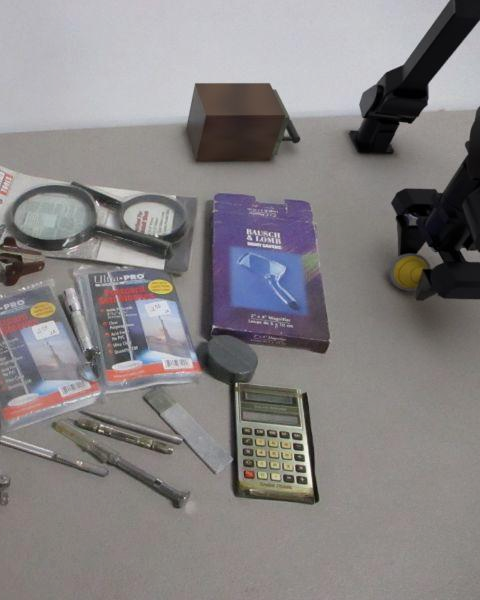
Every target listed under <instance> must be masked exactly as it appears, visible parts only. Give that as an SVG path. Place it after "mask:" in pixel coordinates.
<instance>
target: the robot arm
mask: <svg viewBox="0 0 480 600" xmlns="http://www.w3.org/2000/svg"><path fill="white" fill-rule="evenodd" d="M479 23H480V0H449V1H448V2H447V3H446V5H445V6H444V7H443V9H442V10H441V11H440V13H439V15H438V16H437V17H436V18H435V20H434V21H433V23H432V24H431V26H430V27H429V28H428V30H427V32H425V34H424V35H423V37H422V38H421V40H420V41H419V43H418V44H417V45H416V47H415V48H414V49H413V51H412V52H411V53H410V55H409V56H408V57H407V59H406V60H405V62H404V63H403V64H402V65H399V66H397V67H395V68H392V69H390V70H388V71H386V72H385V73H384V74H383V75H382V76H381V77H380V79H378V81H377V82H376V83H375V84H373V85H372V86H370V87H369V88H368V89H366V90H364V91H363V92H362V94H361V96H360V97H361V98H360V99H359V104H358V105H359V106H358V107H359V110H360V114H361V118H362V121H361V124H360V126H359V127H358V130H354V129H353V130H352V129H351V130H349V132H348V135H349V137H350V138H351V141H352V143H353V145H354V147H355V149H356V151H357V152H358V153H359V154H372V155H373V154H374V155H376V154H377V155H393V154H395V150H394V147H393V146H392V144H391V143H392V142H393V140H394V137H395V135H396V132H397V131H398V128H399V127H400V123H403V124H404V123H405V124H409V125H412V124H413V123H414V122H415V120H417V118H419V117H420V115H421V113H422V112H423V111H424V109H425V108H427V106H428V104H429V99H430V95H429V93H430V91H429V90H430V88H429V87H430V85H429V84H430V83H431V81H433V79H434V78H435V76H436V75H437V74H438V73H439V72H440V71H441V69H442V68H443V67H444V65H445V64H446V63H447V62H448V61H449V59H450V58H451V57H452V56H453V54H455V52H456V51H457V50H458V49H459V47H460V46H461V45H462V44H463V42H464V41H465V40H466V39H467V37H468V36H469V35H470V33H472V31H473V30H474V29H475V28H476V26H477V25H478V24H479ZM469 131H470V132H469V139H468V140H466V141H465V142H464V147H465V149H466V152H467V155H466V156H465V157H464V159H463V160H462V162H461V163H460V165H459V167H458V168H457V169H456V171H455V173H454V174H453V176H452V177H451V179H450V180H449V182H448V183H447V186H446V187H445V188H444V189H443V191H442V192H439V191H438V190H437V189H436V188H411V187H410V188H408V187H407V188H406V187H405V188H403V189H401V190H399V191H397V192H395V195H394V196H393V198H392V200H391V202H390V205H391V206H392V208H393V210H394V212H395V215H396V216H395V221H396V233H397V257H398V256H400V255H403V254H418V253H419V252H420V250H421V249H422V248H423V246H424V245H425V244H426V245H427V246H428V248H430V249H431V252H433V253H438V255H439V257H440V259H441V261H442V262H441V263H439V264H437V265H435V266H434V267H433V268H431V269H422V272H421V276H420V279H419V283H418V286H417V290H415V295H414V300H415V301H416V302H423V301H425V300H428V299H429V298H431V297H433V296H434V295H436V294H437V296H439V297H440V298H442V299H444V300H477V301H478V300H480V261H468V260H466V258H465V256H464V255H463V253H462V251H461V250H462V249H465V250H466V251H467V252H476V251H477V252H478V253H480V105H479V106H478V107H477V109H476V110H475V116H474V120H473V123H472V125H471V127H470V130H469Z"/></svg>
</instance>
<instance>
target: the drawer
mask: <svg viewBox="0 0 480 600" xmlns="http://www.w3.org/2000/svg"><path fill="white" fill-rule="evenodd" d="M272 89H273V91H274V93H275V95H276V97H277V99H278V101H279V103H280V105H281V107H282V109H283V111H284V113H285V117H284V121H283V124H282V127H281V130H280V132H279V135H278V138H277V141H276V144H275V147H274V150H273V153H272V156H277V155H278V152H279V150H280V147H281V144H282V142H292V143H293V144H295V145H296V144H298V143H300V141H301V137H300V134H299V133H298V131H297V129H296V127H295V125H294V122H293V121H292V119H291V117H290V114H289V113H288V111H287V109H286V107H285V105H284V102H283V101H282V98H281V96H280V95H279V92H278V90H277V89H274V88H272ZM286 131H287V133H288V135H287V136H286V135H285V132H286Z"/></svg>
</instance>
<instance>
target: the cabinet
mask: <svg viewBox="0 0 480 600" xmlns="http://www.w3.org/2000/svg"><path fill="white" fill-rule="evenodd" d="M273 89H274V88H273V86H272V84H271V83H270V82H195V83H194V87H193V92H192V97H191V102H190V106H189V112H188V116H187V122H186V128H185V130H186V134H187V137H188V142H189V144H190V148H191V151H192V155H193V158H194V161H195V163H214V162H215V163H217V162H218V163H219V162H221V163H222V162H226V163H227V162H235V163H236V162H270V161H271V158H272V156H273V155H272V153H273V150H274V147H275V144H276V141H277V138H278V135H279V132H280V130H281V127H282V124H283V121H284V117H285V113H284V111H283V109H282V107H281V105H280V103H279V101H278V99H277V97H276V95H275V93H274V91H273Z"/></svg>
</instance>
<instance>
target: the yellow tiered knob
mask: <svg viewBox="0 0 480 600" xmlns="http://www.w3.org/2000/svg"><path fill="white" fill-rule="evenodd" d="M422 269H432V268H431V264H430V262H429V261H428V260H427V258H425V257H424V256H422V255H420V254H418V253H417V254H403V255H400V256H398V255H397V257H396V258H394V259H393V260H392V261H391V263H390V265H389V267H388V278H389V281H390V282H391V283H392V285H393V286H395V288H398V289H399V290H402V291H407V292H408V291H409V292H412V291H416V290H417V286H418V283H419V279H420V276H421V272H422Z"/></svg>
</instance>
